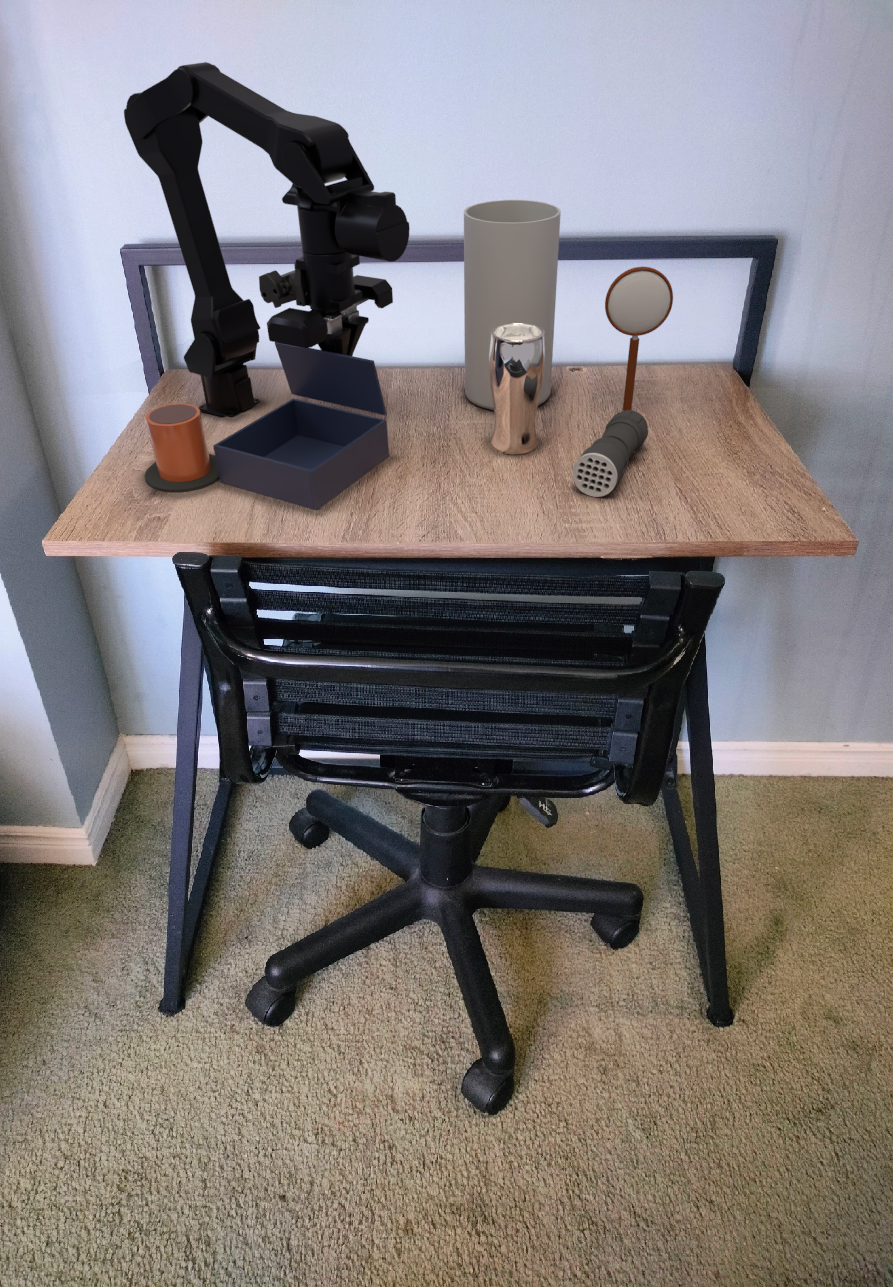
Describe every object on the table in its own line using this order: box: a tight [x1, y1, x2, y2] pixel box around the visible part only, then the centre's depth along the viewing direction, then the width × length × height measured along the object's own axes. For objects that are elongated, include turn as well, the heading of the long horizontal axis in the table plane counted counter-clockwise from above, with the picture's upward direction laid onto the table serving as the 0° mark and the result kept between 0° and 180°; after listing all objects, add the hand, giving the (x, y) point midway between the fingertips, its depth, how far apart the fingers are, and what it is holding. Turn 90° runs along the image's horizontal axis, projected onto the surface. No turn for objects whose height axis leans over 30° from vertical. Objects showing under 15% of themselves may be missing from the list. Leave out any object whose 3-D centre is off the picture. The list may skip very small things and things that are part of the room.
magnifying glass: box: [604, 266, 674, 411], centre depth 118 cm, size 9×2×20 cm, turn 88°
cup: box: [145, 403, 211, 482], centre depth 110 cm, size 6×6×8 cm
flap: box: [274, 342, 387, 416], centre depth 112 cm, size 8×15×1 cm
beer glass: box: [489, 323, 545, 456], centre depth 114 cm, size 7×7×15 cm
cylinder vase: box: [463, 199, 561, 411], centre depth 123 cm, size 12×12×25 cm
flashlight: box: [571, 409, 649, 498], centre depth 111 cm, size 15×5×5 cm, turn 154°
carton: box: [213, 398, 390, 511], centre depth 112 cm, size 16×15×5 cm
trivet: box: [144, 453, 220, 494], centre depth 113 cm, size 10×10×1 cm
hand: (339, 378), depth 114 cm, fingers closed
